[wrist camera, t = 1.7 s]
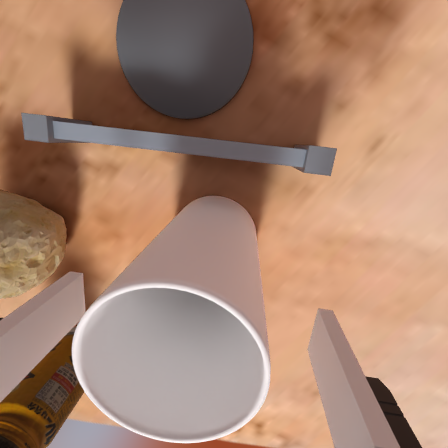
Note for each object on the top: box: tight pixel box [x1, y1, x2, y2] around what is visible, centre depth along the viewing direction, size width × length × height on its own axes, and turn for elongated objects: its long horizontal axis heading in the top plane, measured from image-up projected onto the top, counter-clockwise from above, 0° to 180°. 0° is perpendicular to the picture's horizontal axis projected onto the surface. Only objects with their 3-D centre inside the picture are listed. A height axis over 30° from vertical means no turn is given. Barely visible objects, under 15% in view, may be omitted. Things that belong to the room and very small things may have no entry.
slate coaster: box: [116, 0, 253, 119], centre depth 21 cm, size 11×11×1 cm
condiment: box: [0, 327, 84, 448], centre depth 26 cm, size 7×8×12 cm
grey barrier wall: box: [21, 113, 337, 176], centre depth 21 cm, size 22×2×6 cm, turn 84°
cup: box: [72, 196, 270, 443], centre depth 18 cm, size 8×8×16 cm
